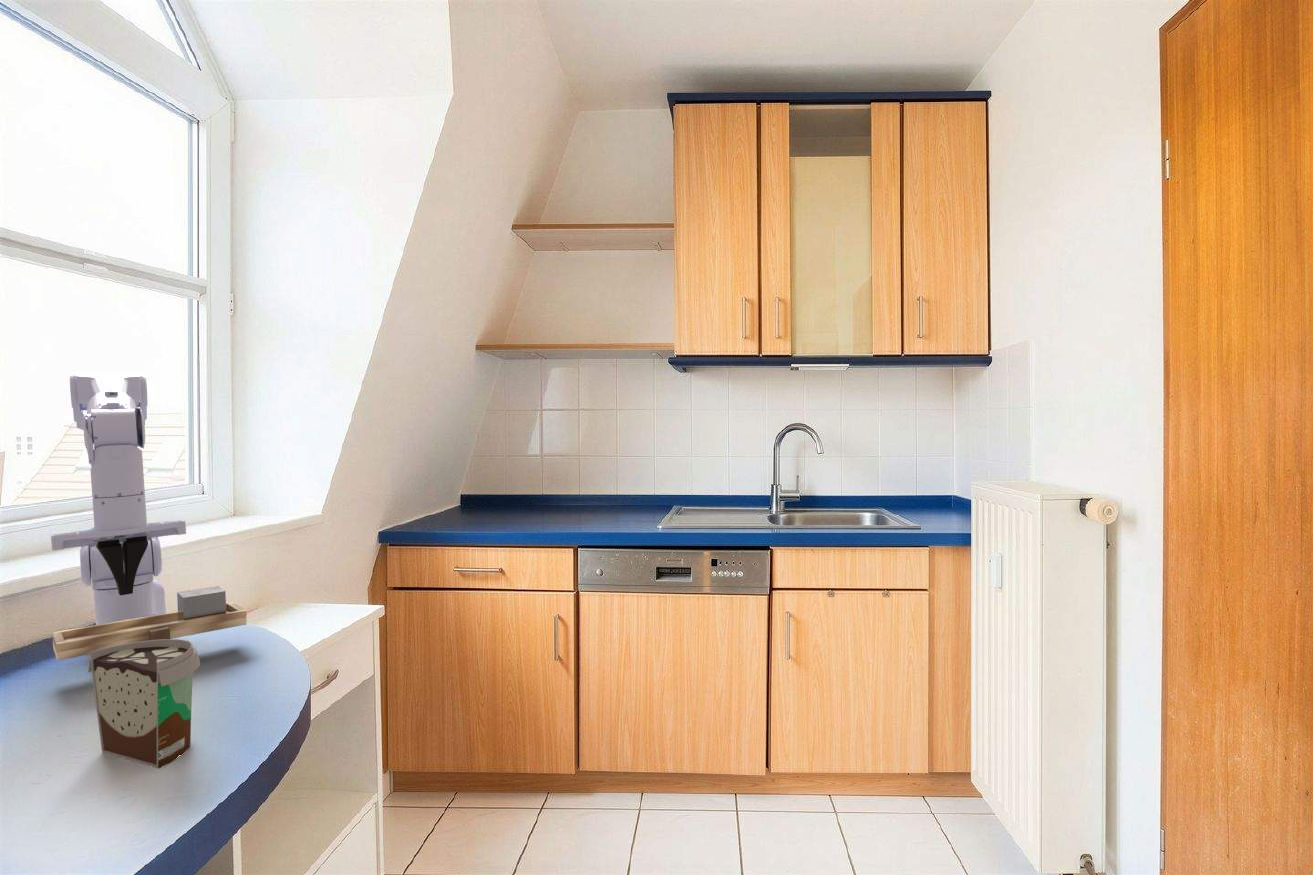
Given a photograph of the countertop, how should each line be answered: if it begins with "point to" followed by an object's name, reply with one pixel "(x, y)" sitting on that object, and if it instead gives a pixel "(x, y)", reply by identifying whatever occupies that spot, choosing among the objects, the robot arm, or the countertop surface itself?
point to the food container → (144, 699)
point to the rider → (201, 603)
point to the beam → (140, 631)
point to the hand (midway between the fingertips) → (125, 593)
